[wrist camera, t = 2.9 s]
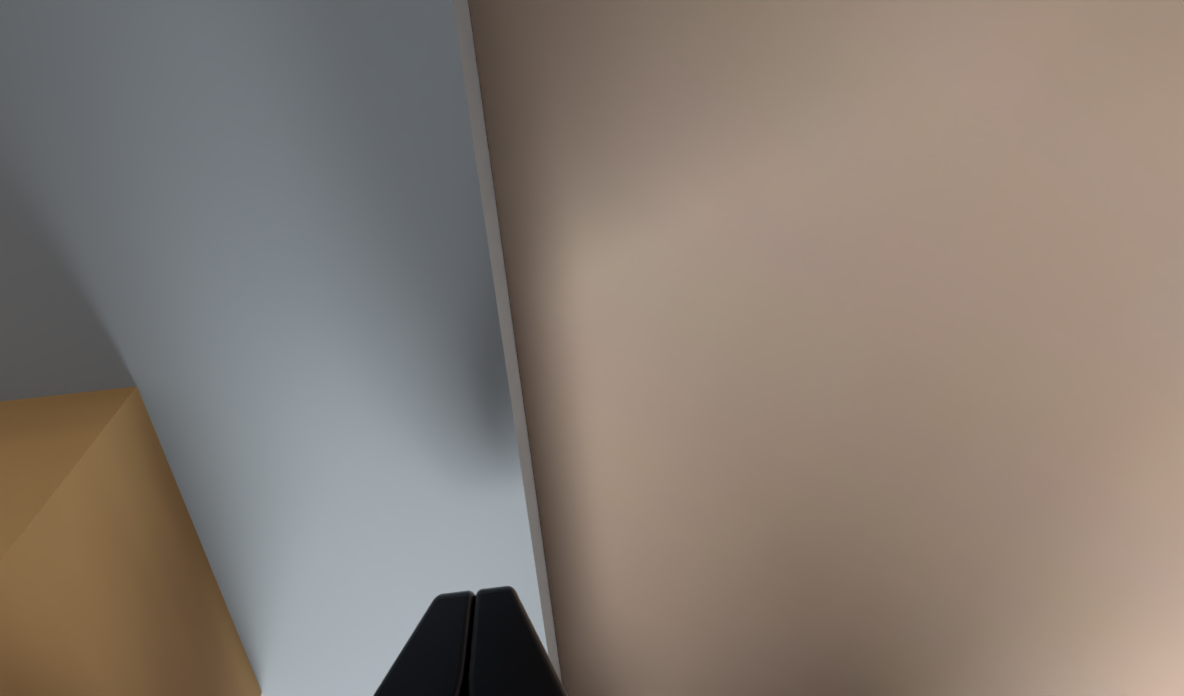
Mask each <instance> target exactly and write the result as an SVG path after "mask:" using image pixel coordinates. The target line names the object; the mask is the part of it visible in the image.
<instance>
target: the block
mask: <svg viewBox="0 0 1184 696" xmlns="http://www.w3.org/2000/svg"><path fill="white" fill-rule="evenodd" d="M261 694H262V691H261V689H260V686H259V684H258V681H257V679H256V677H255V674H254V672H253V669H252V667H251V664H250V662H249V659H248V657H247V654H246V652H245V650H244V647H243V645H242V642H241V640H240V637H239V635H238V632H237V630H236V628H235V625H234V623H233V620H232V618H231V615H230V613H229V610H228V608H227V606H226V603H225V601H224V598H223V596H222V593H221V591H220V588H219V586H218V584H217V581H216V579H215V576H214V574H213V571H212V569H211V566H210V564H209V561H208V559H207V557H206V554H205V552H204V549H203V547H202V544H201V542H200V539H199V537H198V535H197V532H196V530H195V527H194V525H193V522H192V520H191V517H190V515H189V513H188V510H187V508H186V505H185V503H184V500H183V498H182V495H181V493H180V490H179V488H178V486H177V483H176V481H175V478H174V476H173V473H172V471H171V468H170V466H169V464H168V461H167V459H166V456H165V454H164V451H163V449H162V446H161V444H160V442H159V439H158V437H157V434H156V432H155V429H154V427H153V424H152V422H151V420H150V417H149V415H148V412H147V410H146V407H145V405H144V402H143V400H142V397H141V395H140V393H139V390H138V388H137V386H136V387H127V388H118V389H109V390H99V391H90V392H81V393H72V394H63V395H54V396H45V397H36V398H27V399H18V400H9V401H0V696H261Z"/></svg>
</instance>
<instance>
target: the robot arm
mask: <svg viewBox="0 0 1184 696" xmlns="http://www.w3.org/2000/svg"><path fill="white" fill-rule="evenodd" d="M373 696H568V694H567V692H566V690H565V688H564V686H563V684H562V682H561V680H560V678H559V676H558V674H557V672H556V670H555V668H554V666H553V664H552V662H551V660H550V658H549V656H548V654H547V652H546V650H545V648H544V646H543V644H542V642H541V640H540V638H539V636H538V634H537V632H536V630H535V628H534V626H533V624H532V622H531V620H530V618H529V616H528V614H527V612H526V610H525V608H524V606H523V604H522V602H521V600H520V598H519V596H518V594H517V592H516V590H515V589H514V588H513V587H511V586H502V587H493V588H485V589H480V590H479V591H477V593H476V595H475V594H474V593H473V592H472V591H460V592H452V593H444V594H440V595H438V596H436V597H435V598H434V600H433V601H432V603H431V604H430V606H429V607H428V609H427V611H426V612H425V614H424V615H423V617H422V619H421V620H420V622H419V623H418V625H417V627H416V628H415V630H414V631H413V633H412V635H411V636H410V638H409V639H408V641H407V643H406V644H405V646H404V647H403V649H402V651H401V652H400V654H399V655H398V657H397V658H396V660H395V662H394V663H393V665H392V666H391V668H390V670H389V671H388V673H387V674H386V676H385V678H384V679H383V681H382V682H381V684H380V686H379V687H378V689H377V690H376V692H375V694H374V695H373Z"/></svg>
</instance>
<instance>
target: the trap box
mask: <svg viewBox="0 0 1184 696" xmlns="http://www.w3.org/2000/svg"><path fill="white" fill-rule="evenodd" d="M136 386H137V388H138V390H139V393H140V395H141V397H142V400H143V402H144V405H145V407H146V410H147V412H148V415H149V417H150V420H151V422H152V424H153V427H154V429H155V432H156V434H157V437H158V439H159V442H160V444H161V446H162V449H163V451H164V454H165V456H166V459H167V461H168V464H169V466H170V468H171V471H172V473H173V476H174V478H175V481H176V483H177V486H178V488H179V490H180V493H181V495H182V498H183V500H184V503H185V505H186V508H187V510H188V513H189V515H190V517H191V520H192V522H193V525H194V527H195V530H196V532H197V535H198V537H199V539H200V542H201V544H202V547H203V549H204V552H205V554H206V557H207V559H208V561H209V564H210V566H211V569H212V571H213V574H214V576H215V579H216V581H217V584H218V586H219V588H220V591H221V593H222V596H223V598H224V601H225V603H226V606H227V608H228V610H229V613H230V615H231V618H232V620H233V623H234V625H235V628H236V630H237V632H238V635H239V637H240V640H241V642H242V645H243V647H244V650H245V652H246V654H247V657H248V659H249V662H250V664H251V667H252V669H253V672H254V674H255V677H256V679H257V681H258V684H259V686H260V689H261V691H262V694H261V696H373V695H374V694H375V692H376V690H377V689H378V687H379V686H380V684H381V682H382V681H383V679H384V678H385V676H386V674H387V673H388V671H389V670H390V668H391V666H392V665H393V663H394V662H395V660H396V658H397V657H398V655H399V654H400V652H401V651H402V649H403V647H404V646H405V644H406V643H407V641H408V639H409V638H410V636H411V635H412V633H413V631H414V630H415V628H416V627H417V625H418V623H419V622H420V620H421V619H422V617H423V615H424V614H425V612H426V611H427V609H428V607H429V606H430V604H431V603H432V601H433V600H434V598H435V597H436V596H438V595H440V594H444V593H452V592H460V591H472V592H473V593H474V594H475V595H476V593H477V591H479V590H480V589H485V588H493V587H502V586H511V587H513V588H514V589H515V590H516V592H517V594H518V596H519V598H520V600H521V602H522V604H523V606H524V608H525V610H526V612H527V614H528V616H529V618H530V620H531V622H532V624H533V626H534V628H535V630H536V632H537V634H538V636H539V638H540V640H541V642H542V644H543V646H544V648H545V650H546V652H547V654H548V656H549V658H550V660H551V662H552V664H553V666H554V668H555V670H556V672H557V674H558V676H559V678H560V680H561V672H560V665H559V658H558V651H557V643H556V636H555V629H554V622H553V614H552V607H551V600H550V593H549V585H548V578H547V571H546V564H545V556H544V549H543V542H542V535H541V527H540V520H539V513H538V505H537V498H536V491H535V484H534V476H533V469H532V462H531V455H530V447H529V440H528V433H527V426H526V418H525V411H524V404H523V397H522V389H521V382H520V375H519V368H518V360H517V353H516V346H515V339H514V331H513V324H512V317H511V310H510V302H509V295H508V288H507V281H506V273H505V266H504V259H503V252H502V244H501V237H500V230H499V223H498V215H497V208H496V201H495V193H494V186H493V179H492V172H491V164H490V157H489V150H488V143H487V135H486V128H485V121H484V114H483V106H482V99H481V92H480V85H479V77H478V70H477V63H476V56H475V48H474V41H473V34H472V27H471V19H470V12H469V5H468V0H0V401H9V400H18V399H27V398H36V397H45V396H54V395H63V394H72V393H81V392H90V391H99V390H109V389H118V388H127V387H136ZM561 682H562V680H561Z"/></svg>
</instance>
